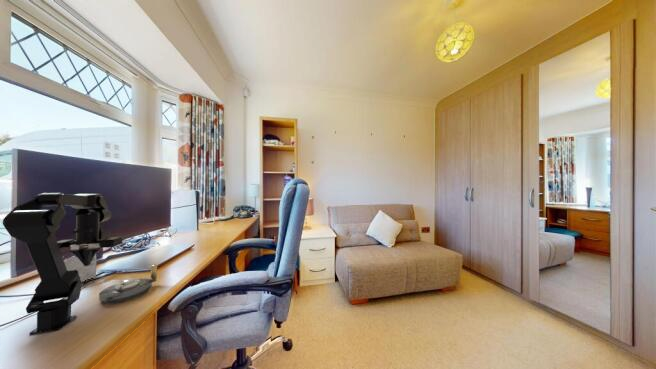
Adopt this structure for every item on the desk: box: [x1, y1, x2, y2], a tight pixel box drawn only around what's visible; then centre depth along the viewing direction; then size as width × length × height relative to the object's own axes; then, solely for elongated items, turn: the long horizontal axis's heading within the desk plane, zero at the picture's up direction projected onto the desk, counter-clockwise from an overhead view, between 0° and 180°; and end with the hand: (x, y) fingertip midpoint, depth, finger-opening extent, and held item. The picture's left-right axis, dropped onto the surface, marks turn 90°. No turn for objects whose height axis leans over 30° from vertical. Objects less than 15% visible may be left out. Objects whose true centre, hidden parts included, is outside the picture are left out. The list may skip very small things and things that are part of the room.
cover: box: [114, 277, 141, 292], centre depth 80 cm, size 7×7×3 cm
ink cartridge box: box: [64, 253, 97, 282], centre depth 90 cm, size 10×6×14 cm, turn 145°
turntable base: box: [102, 288, 150, 305], centre depth 80 cm, size 13×13×1 cm
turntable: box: [98, 263, 158, 302], centre depth 80 cm, size 17×15×8 cm
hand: (87, 265), depth 76 cm, fingers closed
